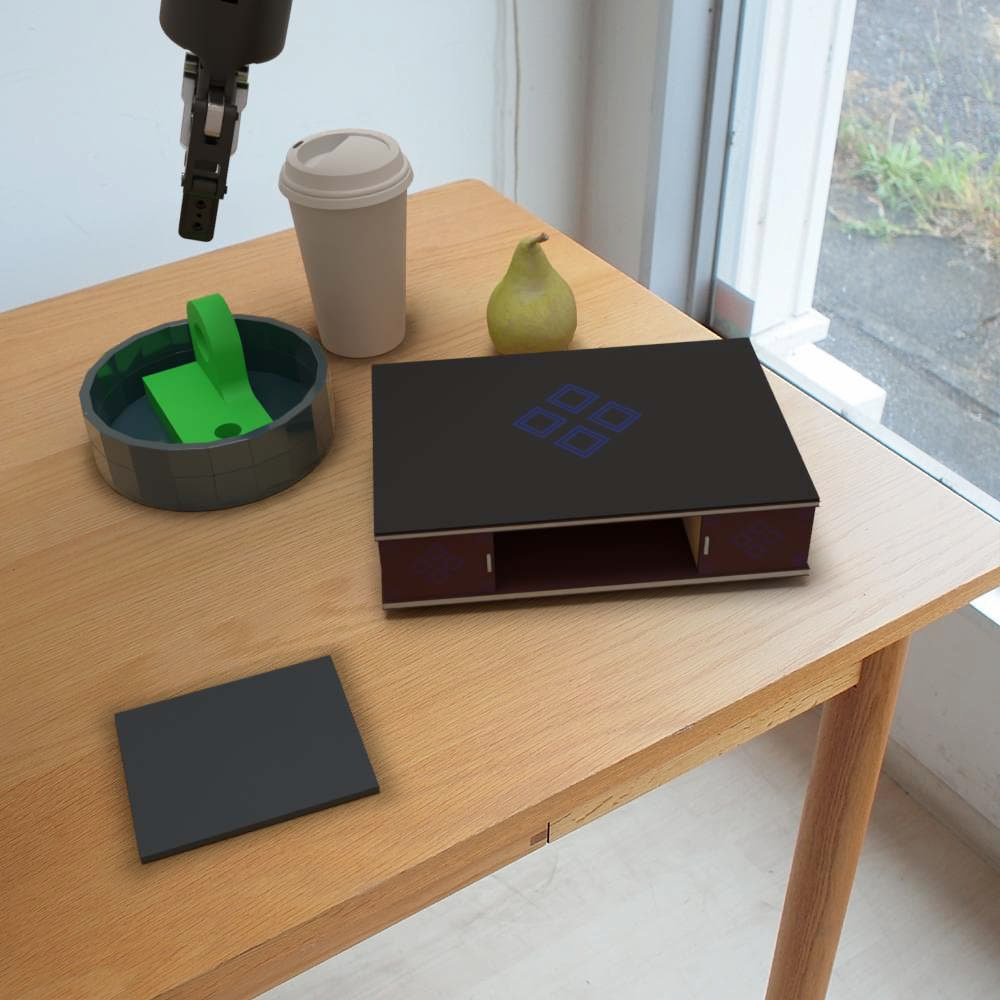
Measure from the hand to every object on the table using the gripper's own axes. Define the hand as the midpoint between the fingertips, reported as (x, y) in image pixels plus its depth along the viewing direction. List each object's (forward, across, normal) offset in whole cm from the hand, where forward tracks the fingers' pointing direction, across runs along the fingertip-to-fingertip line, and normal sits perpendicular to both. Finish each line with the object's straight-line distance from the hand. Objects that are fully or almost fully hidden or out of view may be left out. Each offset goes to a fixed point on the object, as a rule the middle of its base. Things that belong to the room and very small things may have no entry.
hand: (197, 203), depth 87 cm
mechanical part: (+13, +7, +3) cm, 16 cm away
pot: (+14, +7, +3) cm, 16 cm away
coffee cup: (+12, -4, +14) cm, 19 cm away
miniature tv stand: (+6, +19, +25) cm, 32 cm away
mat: (+11, +36, +5) cm, 38 cm away
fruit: (+8, +1, +26) cm, 27 cm away
